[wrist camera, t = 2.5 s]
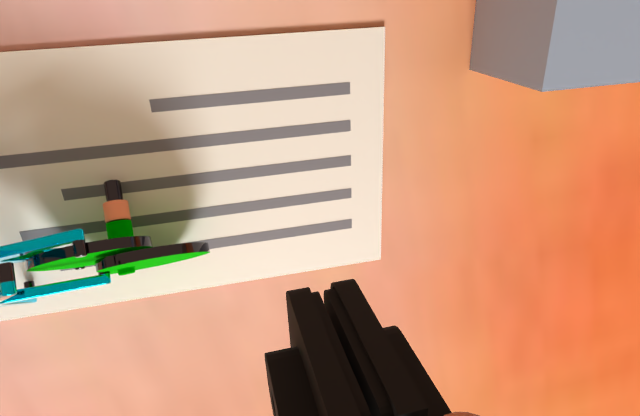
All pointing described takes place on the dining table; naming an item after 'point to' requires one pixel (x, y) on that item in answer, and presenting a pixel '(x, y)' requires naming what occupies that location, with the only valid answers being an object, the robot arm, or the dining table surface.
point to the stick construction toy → (88, 254)
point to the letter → (196, 155)
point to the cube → (557, 42)
